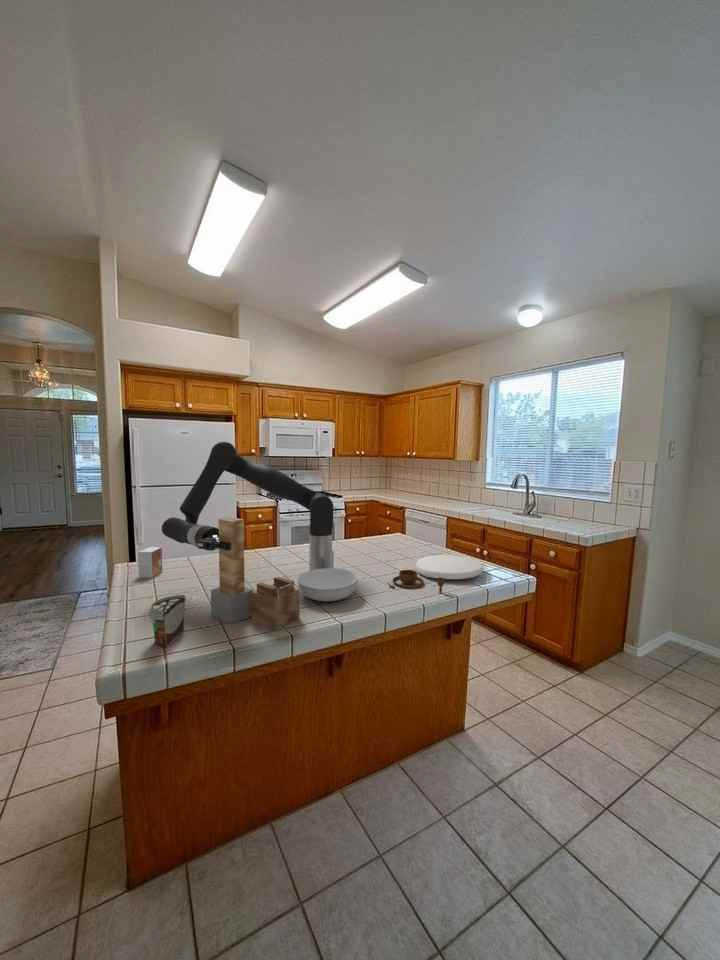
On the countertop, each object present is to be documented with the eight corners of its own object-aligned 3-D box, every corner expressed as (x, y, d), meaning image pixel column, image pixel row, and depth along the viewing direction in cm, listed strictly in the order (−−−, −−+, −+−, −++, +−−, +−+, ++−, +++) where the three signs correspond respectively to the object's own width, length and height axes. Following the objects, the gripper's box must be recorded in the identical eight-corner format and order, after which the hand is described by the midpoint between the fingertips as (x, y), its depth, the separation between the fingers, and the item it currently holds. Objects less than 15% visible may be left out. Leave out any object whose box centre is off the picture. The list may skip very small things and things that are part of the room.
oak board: (230, 585, 123) (229, 517, 121) (244, 590, 118) (243, 519, 117) (219, 589, 119) (218, 518, 118) (233, 594, 115) (232, 521, 113)
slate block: (233, 606, 126) (233, 582, 125) (253, 615, 120) (253, 589, 119) (211, 615, 119) (210, 590, 119) (231, 624, 113) (230, 597, 113)
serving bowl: (292, 589, 142) (292, 571, 141) (346, 583, 149) (346, 565, 149) (305, 612, 122) (305, 591, 122) (366, 603, 130) (367, 583, 130)
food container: (165, 627, 111) (164, 593, 110) (186, 628, 111) (185, 594, 110) (139, 649, 99) (138, 611, 98) (163, 650, 98) (162, 612, 98)
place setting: (421, 577, 158) (422, 563, 158) (447, 595, 139) (447, 579, 139) (381, 581, 153) (382, 567, 153) (402, 600, 134) (402, 584, 134)
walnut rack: (277, 610, 124) (276, 574, 123) (299, 618, 118) (299, 581, 117) (251, 621, 116) (251, 583, 115) (274, 630, 110) (273, 591, 109)
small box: (152, 578, 152) (151, 552, 151) (138, 578, 152) (137, 551, 151) (163, 571, 160) (162, 547, 159) (149, 571, 160) (148, 546, 159)
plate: (416, 570, 151) (413, 552, 178) (417, 586, 152) (414, 566, 178) (489, 566, 148) (475, 548, 175) (490, 582, 149) (476, 563, 175)
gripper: (183, 529, 120) (215, 537, 110) (223, 522, 132) (256, 529, 122) (183, 552, 121) (215, 563, 111) (223, 544, 132) (256, 552, 122)
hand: (236, 545), depth 116 cm, fingers open, 4 cm apart
